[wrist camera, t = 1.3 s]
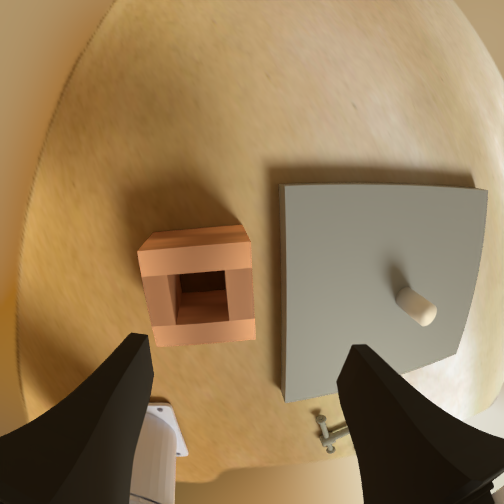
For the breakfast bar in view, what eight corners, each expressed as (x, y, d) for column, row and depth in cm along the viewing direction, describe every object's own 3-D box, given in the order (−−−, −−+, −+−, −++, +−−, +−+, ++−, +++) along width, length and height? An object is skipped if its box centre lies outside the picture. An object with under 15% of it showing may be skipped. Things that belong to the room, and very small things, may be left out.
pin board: (281, 390, 22) (294, 430, 17) (278, 184, 17) (300, 190, 13) (447, 346, 24) (473, 369, 19) (475, 188, 19) (513, 196, 15)
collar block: (165, 312, 18) (156, 346, 15) (153, 232, 17) (137, 251, 13) (247, 305, 19) (255, 339, 15) (242, 224, 17) (250, 241, 14)
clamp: (406, 449, 27) (336, 483, 26) (399, 438, 29) (331, 470, 28) (413, 381, 22) (316, 428, 22) (402, 368, 24) (310, 412, 24)
